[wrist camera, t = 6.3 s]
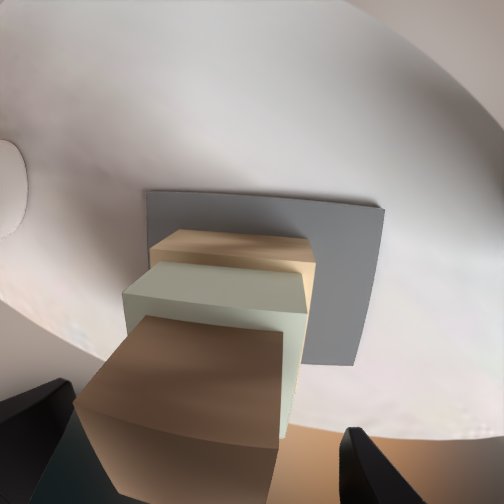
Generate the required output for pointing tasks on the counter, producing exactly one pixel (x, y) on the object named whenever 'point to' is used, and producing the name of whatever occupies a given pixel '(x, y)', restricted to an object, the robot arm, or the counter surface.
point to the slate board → (294, 226)
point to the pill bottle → (11, 188)
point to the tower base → (240, 254)
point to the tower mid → (227, 307)
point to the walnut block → (188, 412)
